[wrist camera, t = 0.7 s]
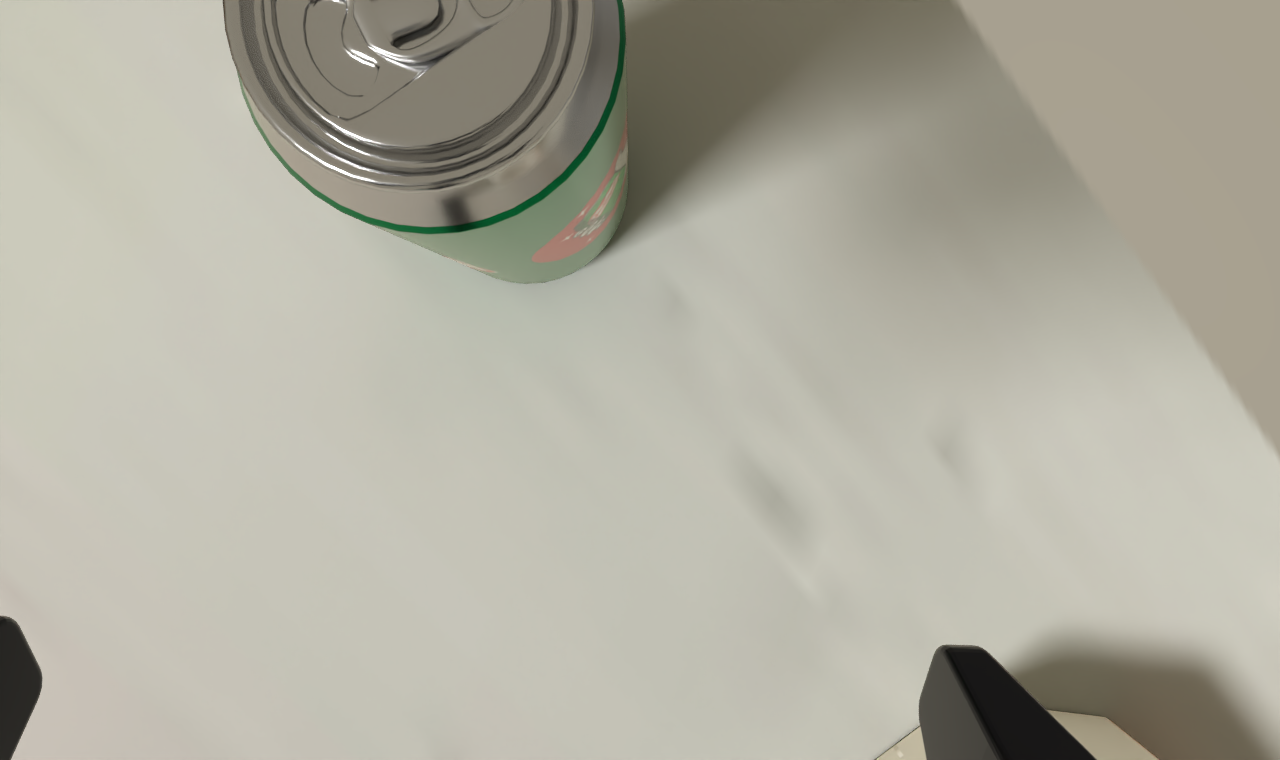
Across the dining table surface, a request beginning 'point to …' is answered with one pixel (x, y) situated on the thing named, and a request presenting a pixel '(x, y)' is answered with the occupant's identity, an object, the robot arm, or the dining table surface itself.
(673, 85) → the dining table surface
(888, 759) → the bowl
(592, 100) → the soda can
